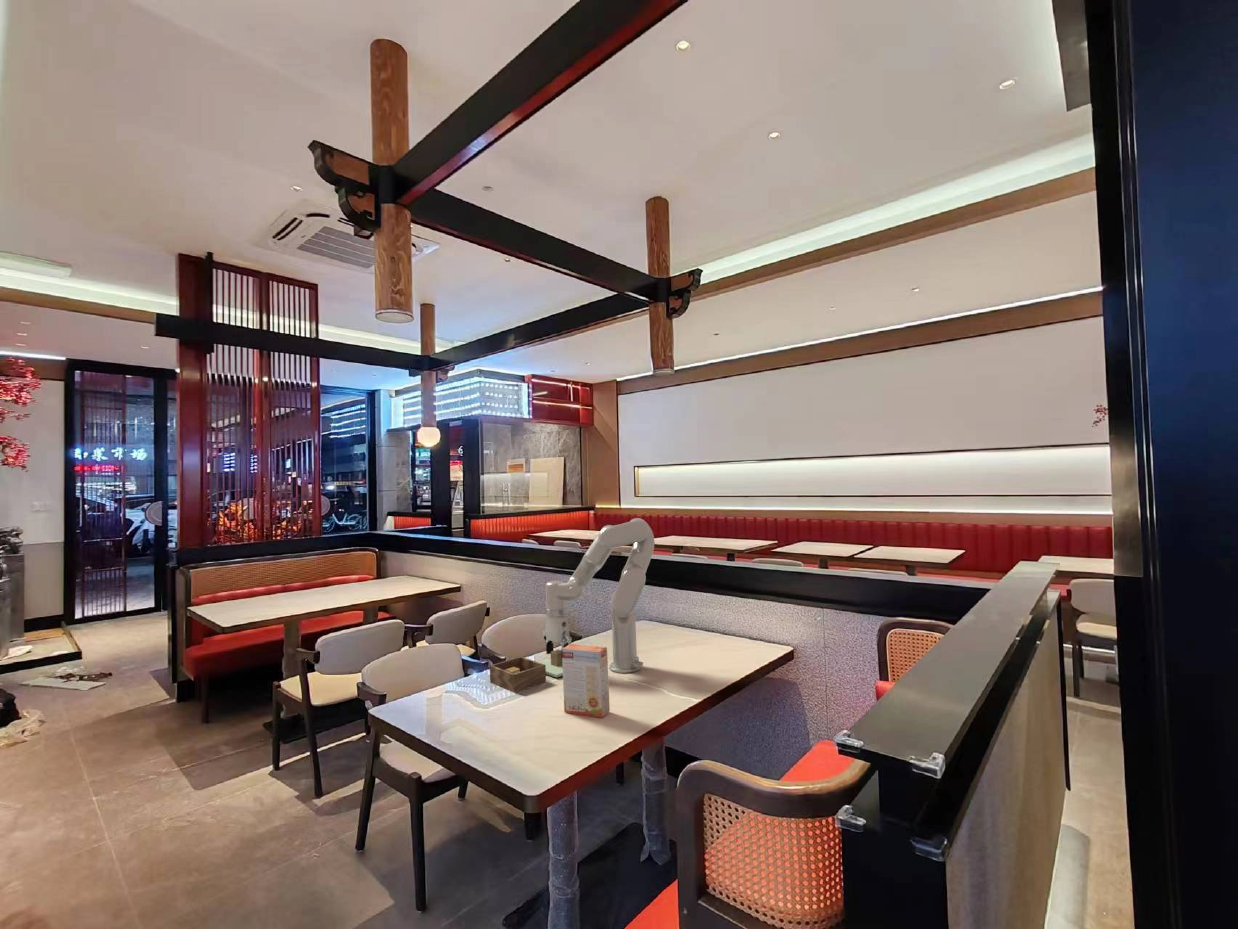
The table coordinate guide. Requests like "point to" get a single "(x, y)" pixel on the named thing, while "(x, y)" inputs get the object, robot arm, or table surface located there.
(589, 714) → the cracker box
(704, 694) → the table surface
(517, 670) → the ochre block
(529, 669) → the crate
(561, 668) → the lid
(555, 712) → the table surface
